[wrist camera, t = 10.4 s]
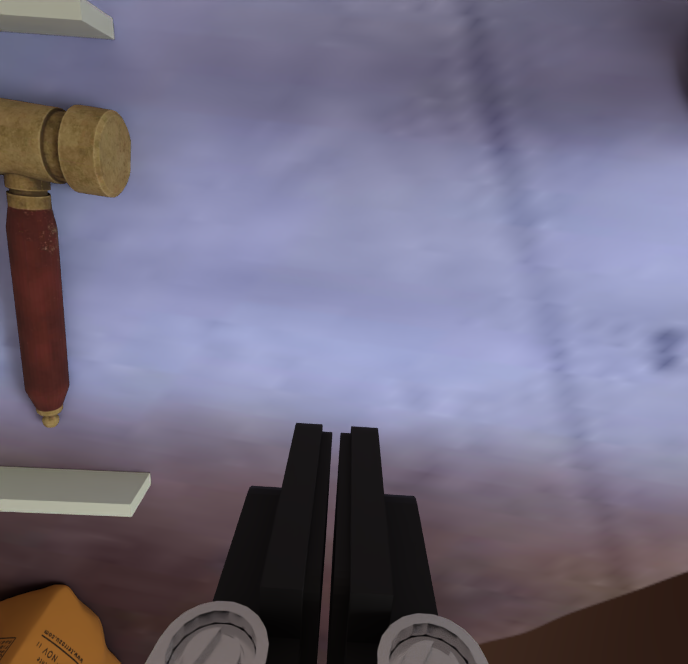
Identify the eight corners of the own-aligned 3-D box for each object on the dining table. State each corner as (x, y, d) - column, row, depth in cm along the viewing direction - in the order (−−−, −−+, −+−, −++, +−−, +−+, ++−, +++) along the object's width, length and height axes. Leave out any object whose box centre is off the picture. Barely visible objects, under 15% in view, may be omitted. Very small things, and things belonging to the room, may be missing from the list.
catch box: (112, 18, 26) (79, -5, 22) (151, 484, 35) (131, 516, 32) (-154, -2, 25) (-228, -28, 22) (-42, 476, 35) (-82, 507, 32)
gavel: (109, 455, 31) (-48, 436, 31) (137, 417, 35) (-1, 399, 35) (95, 108, 23) (-119, 73, 23) (132, 112, 27) (-46, 82, 27)
